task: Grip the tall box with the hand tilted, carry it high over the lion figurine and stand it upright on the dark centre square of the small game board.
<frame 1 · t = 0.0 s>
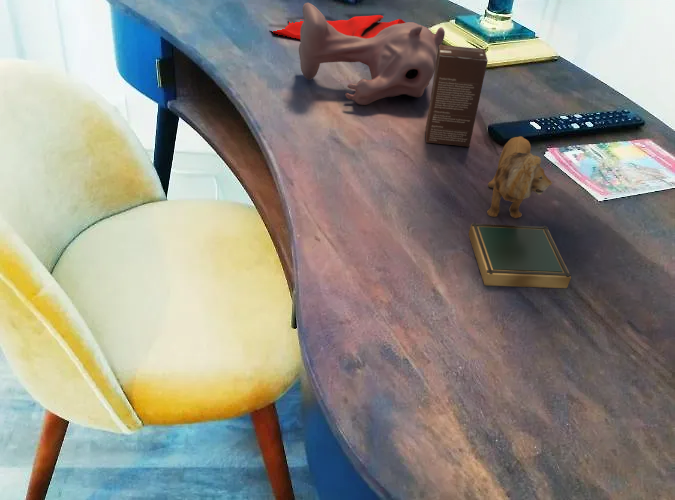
cloth: (342, 34, 116), on the table
lion figurine: (508, 204, 76), on the table
game board: (515, 260, 67), on the table
dragon head: (366, 91, 98), on the table
box: (446, 139, 88), on the table
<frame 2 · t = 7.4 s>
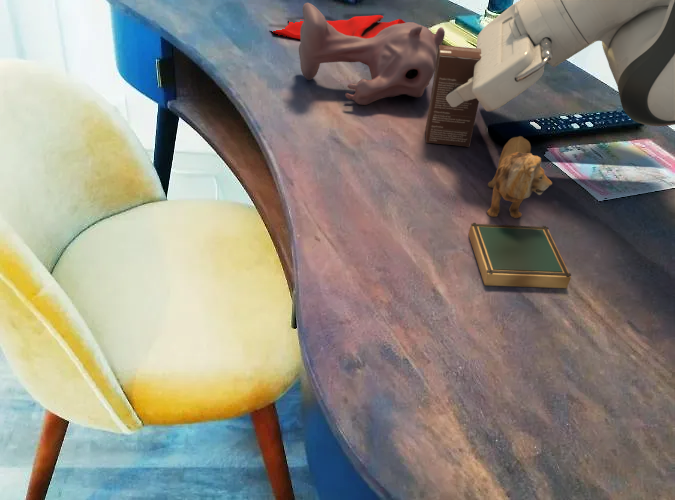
hand: (450, 91, 83), 7 cm above the table, tool tilted 45°, fingers closed on box, 4 cm apart
box: (446, 139, 88), on the table, touching gripper
everything else where it was.
when the fingers open (8 cm above the table, at t = 17.5 s): box stays where it is, resting on game board.
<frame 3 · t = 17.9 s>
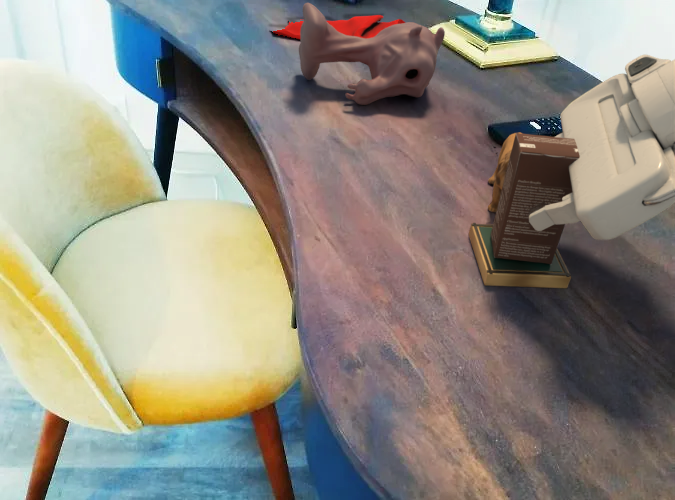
hand: (530, 194, 62), 8 cm above the table, tool tilted 45°, fingers open, 8 cm apart
lion figurine: (508, 199, 77), on the table, touching gripper
box: (518, 250, 66), point 1 cm above the table, touching game board
everything else where it was.
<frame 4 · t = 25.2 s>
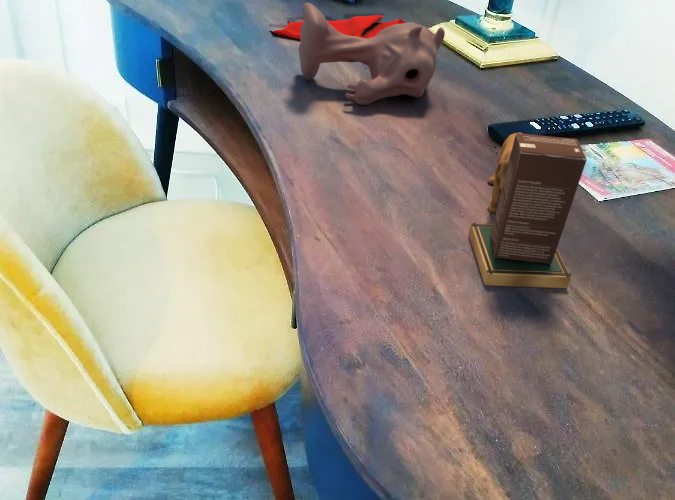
lion figurine: (508, 199, 77), on the table
everything else where it was.
at the end: box 0.2 cm off-centre on the game board, point 1.4 cm above the game board's base; box tilted 0°; the gripper is holding nothing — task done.
